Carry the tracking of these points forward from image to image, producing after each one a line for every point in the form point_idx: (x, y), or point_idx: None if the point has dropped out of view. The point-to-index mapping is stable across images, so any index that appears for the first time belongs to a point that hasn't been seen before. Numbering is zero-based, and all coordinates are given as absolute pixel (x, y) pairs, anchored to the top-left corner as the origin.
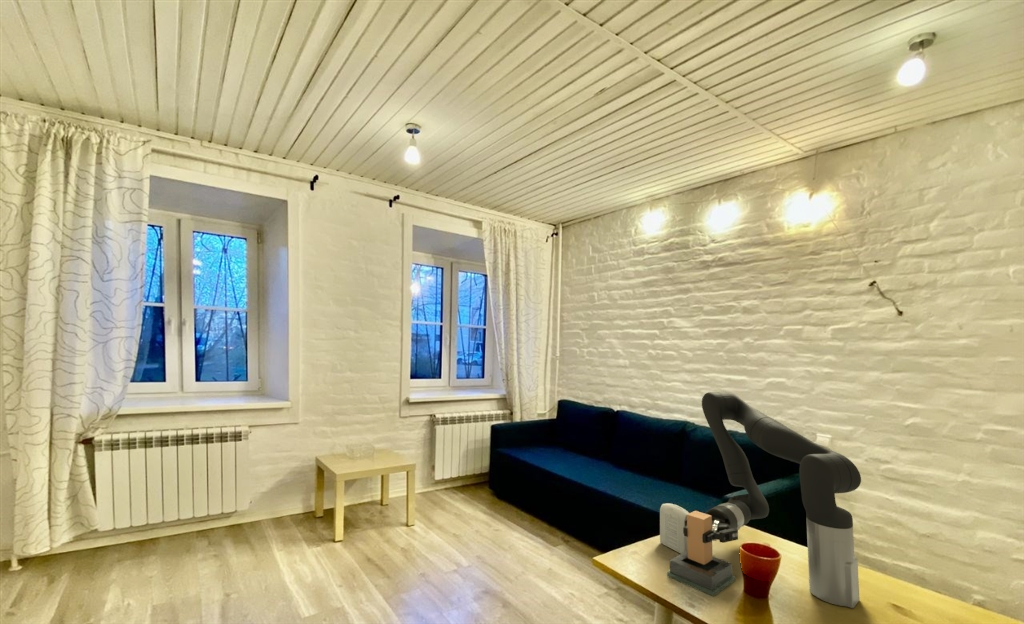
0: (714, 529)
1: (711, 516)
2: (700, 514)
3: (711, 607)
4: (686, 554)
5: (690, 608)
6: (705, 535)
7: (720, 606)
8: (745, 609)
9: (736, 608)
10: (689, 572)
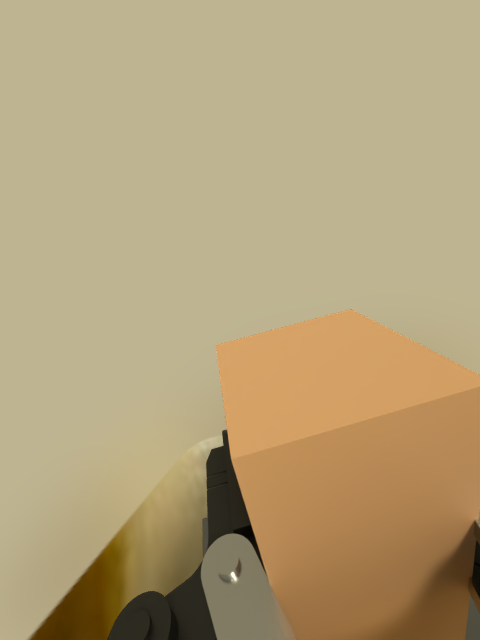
0: (225, 574)
1: (232, 463)
2: (320, 369)
3: (186, 493)
4: (475, 622)
5: (217, 444)
6: (223, 433)
7: (170, 523)
8: (96, 601)
9: (125, 569)
10: None
